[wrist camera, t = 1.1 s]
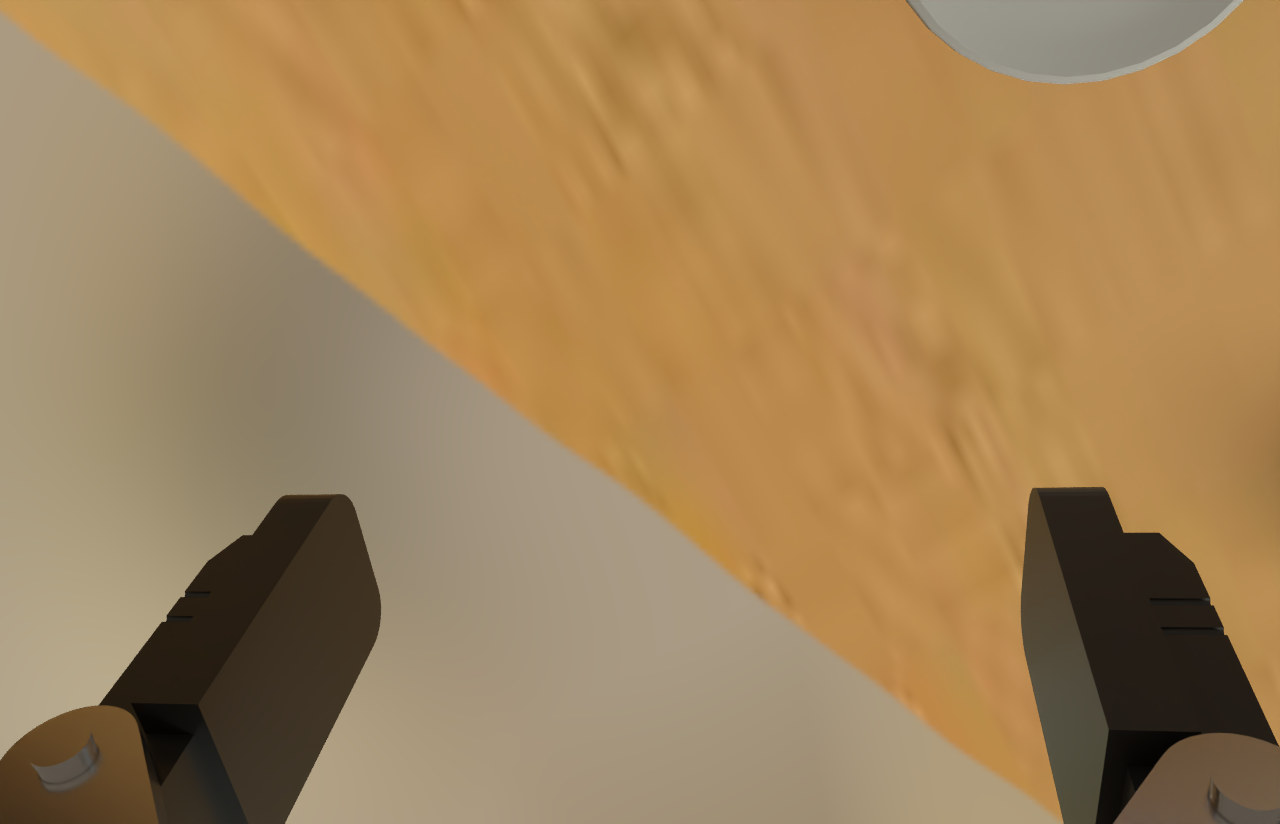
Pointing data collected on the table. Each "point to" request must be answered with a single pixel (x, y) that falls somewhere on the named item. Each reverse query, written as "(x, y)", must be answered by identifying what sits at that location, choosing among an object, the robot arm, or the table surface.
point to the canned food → (1070, 34)
